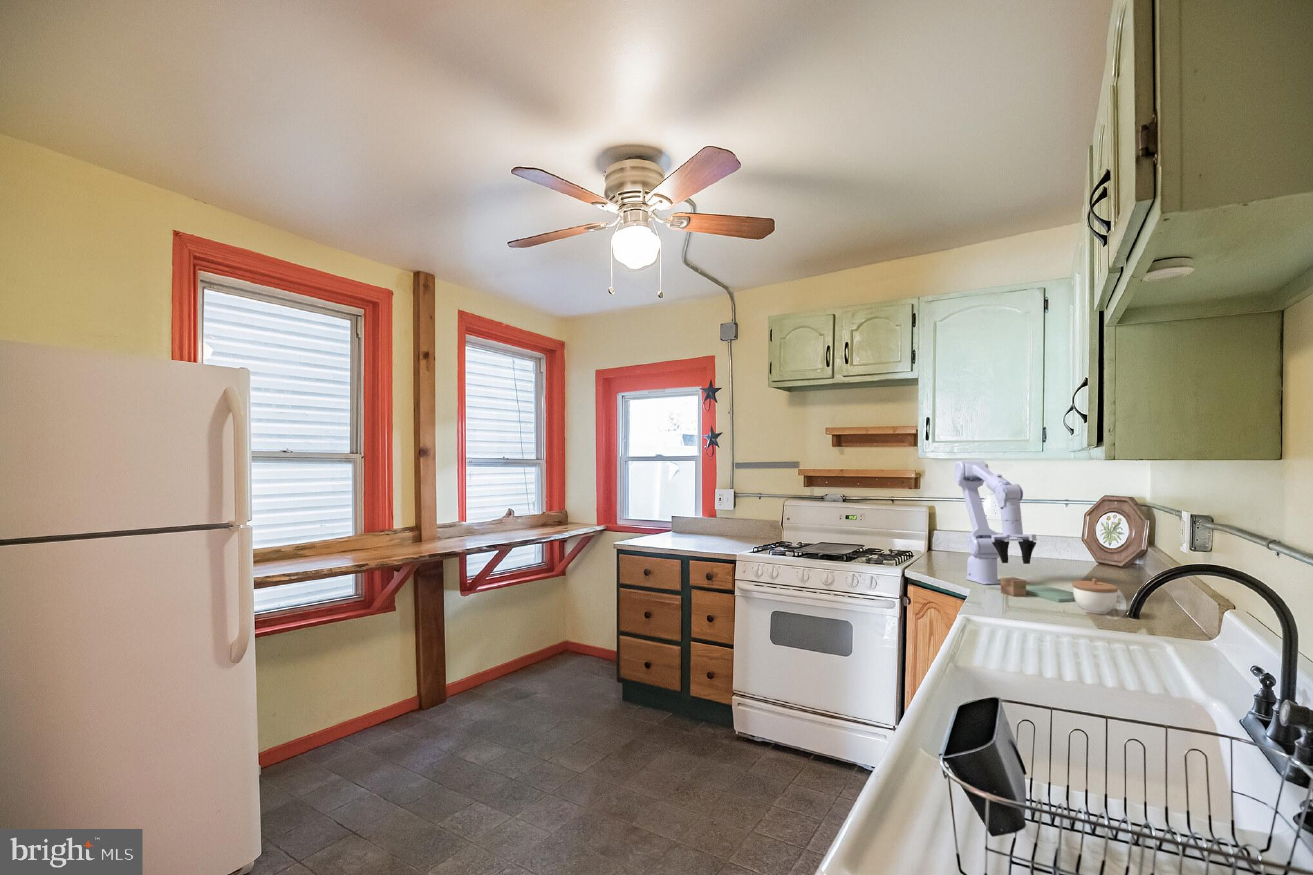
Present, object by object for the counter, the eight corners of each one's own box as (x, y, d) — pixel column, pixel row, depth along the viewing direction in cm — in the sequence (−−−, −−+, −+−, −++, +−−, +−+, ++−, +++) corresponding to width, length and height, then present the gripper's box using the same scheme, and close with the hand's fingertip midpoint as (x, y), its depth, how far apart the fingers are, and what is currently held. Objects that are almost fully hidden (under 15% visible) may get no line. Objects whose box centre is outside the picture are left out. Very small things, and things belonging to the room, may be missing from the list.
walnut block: (1000, 593, 200) (1000, 577, 200) (1013, 592, 201) (1013, 576, 201) (1013, 596, 195) (1013, 581, 195) (1026, 595, 196) (1026, 580, 196)
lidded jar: (1079, 604, 184) (1079, 573, 185) (1122, 612, 176) (1122, 579, 176) (1067, 610, 178) (1067, 578, 178) (1111, 618, 169) (1111, 584, 170)
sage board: (1015, 590, 203) (1015, 587, 203) (1045, 588, 206) (1045, 585, 206) (1058, 602, 187) (1058, 598, 187) (1089, 599, 190) (1089, 596, 190)
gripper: (983, 521, 205) (987, 562, 202) (1023, 520, 191) (1028, 564, 189) (998, 521, 207) (1002, 562, 205) (1039, 520, 194) (1043, 564, 192)
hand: (1015, 563), depth 197 cm, fingers open, 7 cm apart
